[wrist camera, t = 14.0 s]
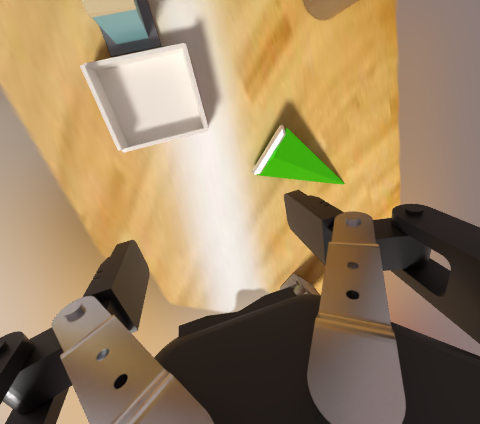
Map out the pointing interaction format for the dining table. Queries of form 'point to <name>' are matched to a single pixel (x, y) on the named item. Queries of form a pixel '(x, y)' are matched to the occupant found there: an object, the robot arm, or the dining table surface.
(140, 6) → the coaster
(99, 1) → the tea tin
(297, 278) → the coffee box
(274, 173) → the green and white wedge
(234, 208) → the dining table surface
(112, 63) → the tote
